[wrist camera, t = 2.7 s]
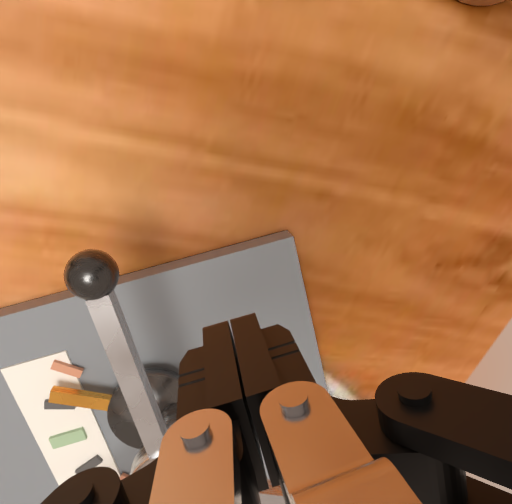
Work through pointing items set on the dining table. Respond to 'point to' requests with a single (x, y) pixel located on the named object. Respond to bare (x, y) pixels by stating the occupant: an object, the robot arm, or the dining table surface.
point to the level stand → (148, 346)
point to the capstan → (125, 368)
